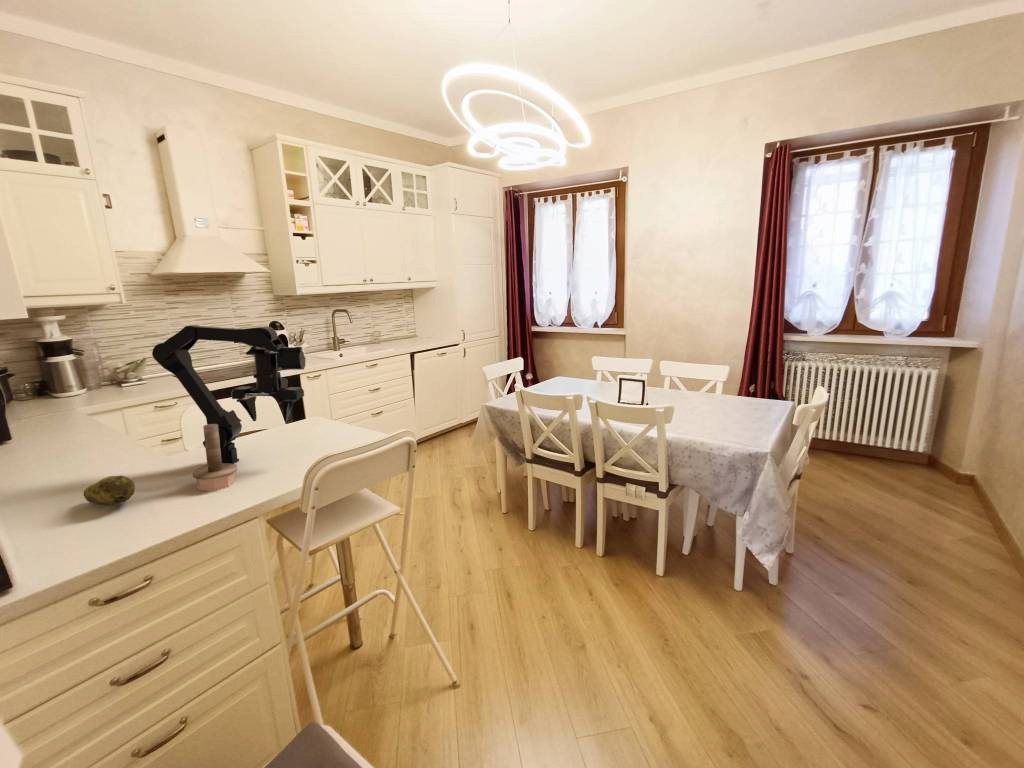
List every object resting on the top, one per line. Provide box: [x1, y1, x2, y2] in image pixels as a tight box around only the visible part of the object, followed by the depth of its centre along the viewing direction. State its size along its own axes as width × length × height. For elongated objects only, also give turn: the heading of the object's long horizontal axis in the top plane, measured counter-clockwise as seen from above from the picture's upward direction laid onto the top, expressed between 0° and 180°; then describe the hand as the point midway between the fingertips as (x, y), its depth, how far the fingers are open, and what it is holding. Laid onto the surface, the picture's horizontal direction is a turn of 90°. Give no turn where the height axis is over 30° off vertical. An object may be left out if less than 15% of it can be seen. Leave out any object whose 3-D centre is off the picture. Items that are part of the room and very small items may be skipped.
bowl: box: [195, 472, 236, 491], centre depth 119 cm, size 8×8×4 cm
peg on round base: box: [191, 424, 238, 480], centre depth 118 cm, size 10×10×13 cm
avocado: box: [82, 475, 136, 506], centre depth 105 cm, size 8×13×8 cm, turn 50°
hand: (270, 421), depth 134 cm, fingers open, 9 cm apart
